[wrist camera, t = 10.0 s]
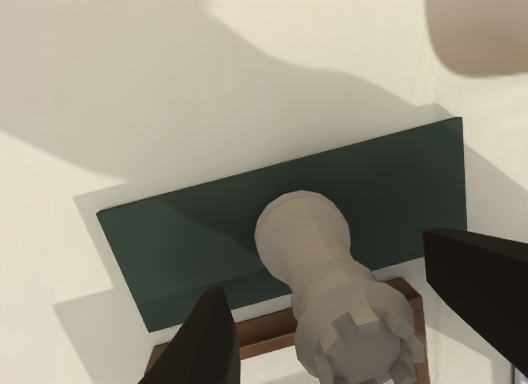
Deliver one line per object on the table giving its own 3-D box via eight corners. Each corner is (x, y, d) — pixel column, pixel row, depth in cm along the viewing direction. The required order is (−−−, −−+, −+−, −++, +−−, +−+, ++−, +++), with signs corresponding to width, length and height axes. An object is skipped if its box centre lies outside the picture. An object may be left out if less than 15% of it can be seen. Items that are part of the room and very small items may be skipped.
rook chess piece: (253, 188, 13) (277, 286, 6) (344, 186, 14) (483, 275, 6) (253, 272, 14) (275, 448, 7) (337, 267, 15) (446, 429, 7)
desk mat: (456, 116, 14) (462, 116, 13) (462, 241, 16) (468, 244, 15) (99, 210, 13) (95, 213, 13) (150, 328, 15) (148, 333, 15)
